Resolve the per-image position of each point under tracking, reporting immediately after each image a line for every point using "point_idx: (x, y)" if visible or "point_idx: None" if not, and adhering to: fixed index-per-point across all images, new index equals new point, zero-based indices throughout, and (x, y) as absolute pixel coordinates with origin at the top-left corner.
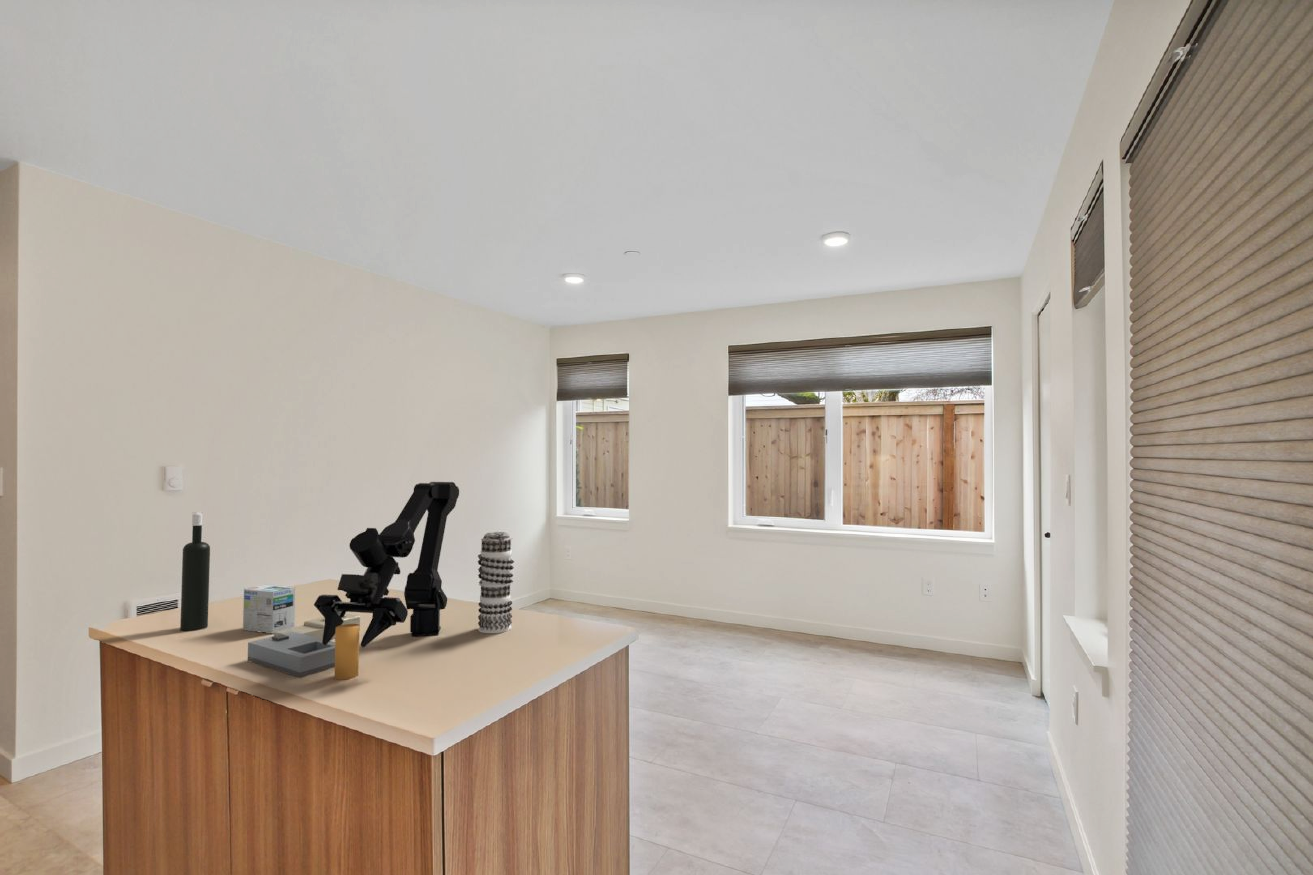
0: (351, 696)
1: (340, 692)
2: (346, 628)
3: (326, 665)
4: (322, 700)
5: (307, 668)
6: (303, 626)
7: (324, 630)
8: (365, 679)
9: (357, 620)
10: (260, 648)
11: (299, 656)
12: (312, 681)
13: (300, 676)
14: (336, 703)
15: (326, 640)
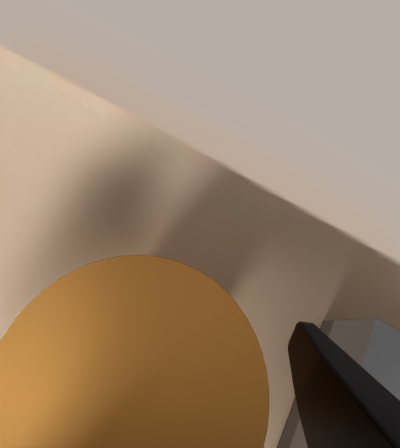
0: (32, 140)
1: (87, 175)
2: (109, 305)
3: (289, 443)
4: (117, 115)
5: None
6: None
7: (385, 391)
8: None
9: None
10: None
11: (395, 336)
12: (250, 281)
13: (324, 321)
14: (60, 91)
15: (302, 353)
